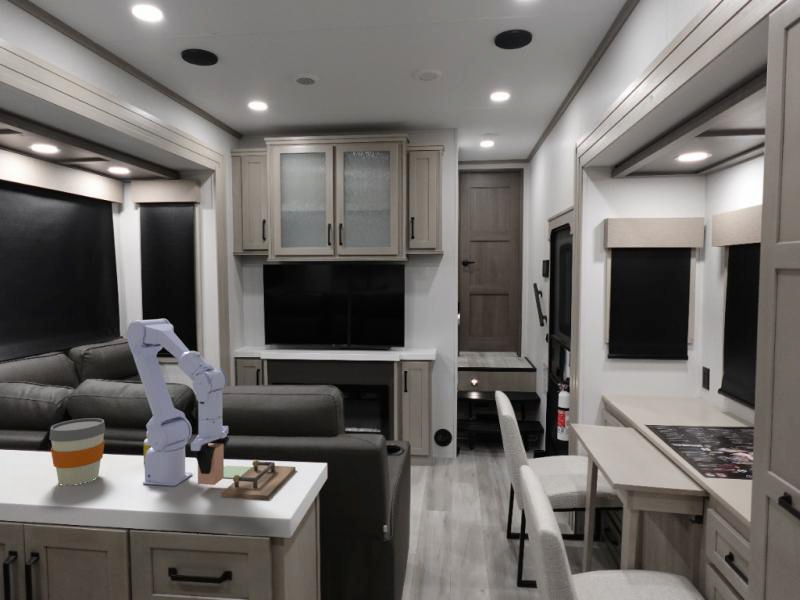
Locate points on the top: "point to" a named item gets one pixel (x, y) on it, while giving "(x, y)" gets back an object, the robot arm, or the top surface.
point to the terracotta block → (214, 467)
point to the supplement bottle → (146, 446)
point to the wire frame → (258, 481)
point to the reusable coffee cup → (77, 449)
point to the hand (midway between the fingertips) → (210, 469)
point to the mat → (235, 471)
